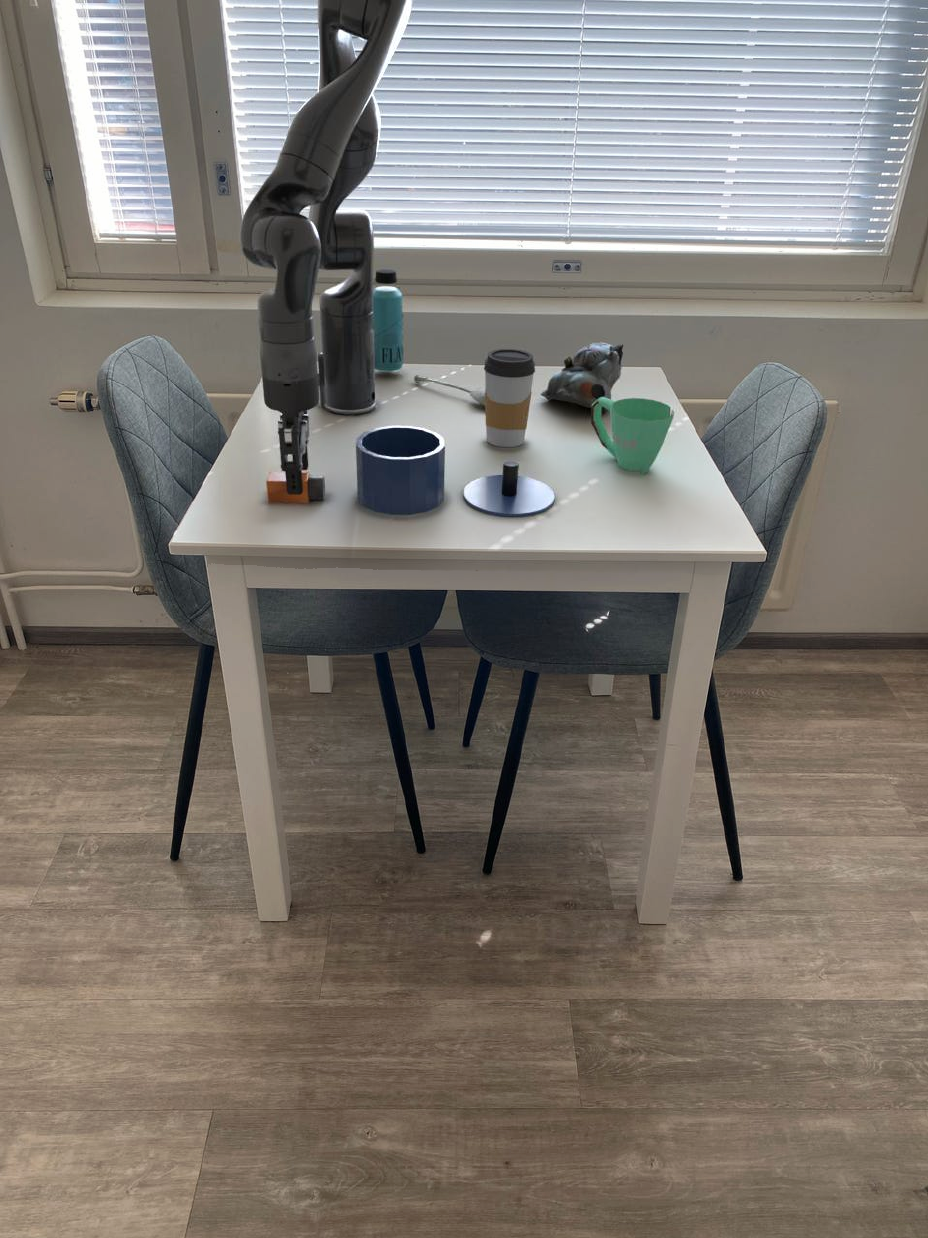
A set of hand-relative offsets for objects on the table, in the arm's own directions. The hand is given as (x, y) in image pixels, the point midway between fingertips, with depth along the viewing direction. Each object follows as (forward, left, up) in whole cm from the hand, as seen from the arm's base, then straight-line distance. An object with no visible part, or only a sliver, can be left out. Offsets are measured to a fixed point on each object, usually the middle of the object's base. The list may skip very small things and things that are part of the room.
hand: (298, 481), depth 130 cm
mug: (+36, +39, -3) cm, 53 cm away
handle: (0, 0, -3) cm, 3 cm away
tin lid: (+26, +17, -2) cm, 31 cm away
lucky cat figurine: (+19, +61, -3) cm, 64 cm away
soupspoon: (-3, +53, -3) cm, 53 cm away
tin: (+13, +8, -3) cm, 15 cm away
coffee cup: (+16, +36, -3) cm, 39 cm away
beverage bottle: (-21, +56, -3) cm, 60 cm away
